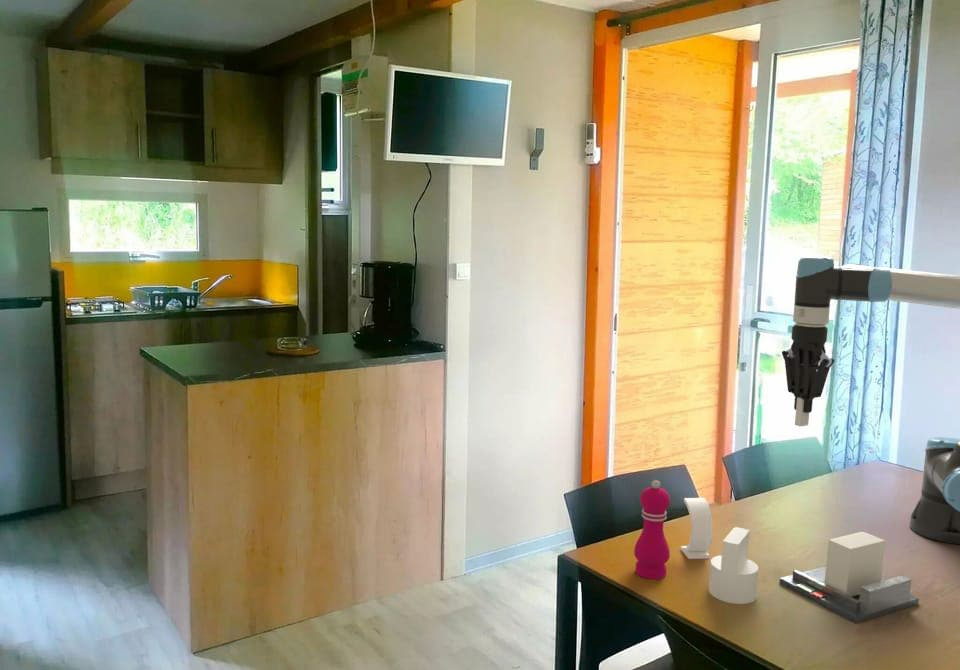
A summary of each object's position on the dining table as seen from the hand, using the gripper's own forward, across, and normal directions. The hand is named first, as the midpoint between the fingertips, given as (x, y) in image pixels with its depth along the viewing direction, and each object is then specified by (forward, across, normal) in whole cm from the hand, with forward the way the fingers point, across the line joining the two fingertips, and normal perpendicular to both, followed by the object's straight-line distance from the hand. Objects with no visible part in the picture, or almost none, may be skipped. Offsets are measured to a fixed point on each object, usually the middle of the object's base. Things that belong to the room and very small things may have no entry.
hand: (801, 425), depth 187 cm
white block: (+25, +28, -15) cm, 40 cm away
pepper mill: (+27, +3, -45) cm, 52 cm away
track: (+26, +27, -15) cm, 41 cm away
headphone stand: (+27, 0, -30) cm, 40 cm away
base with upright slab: (+27, +17, -36) cm, 48 cm away
